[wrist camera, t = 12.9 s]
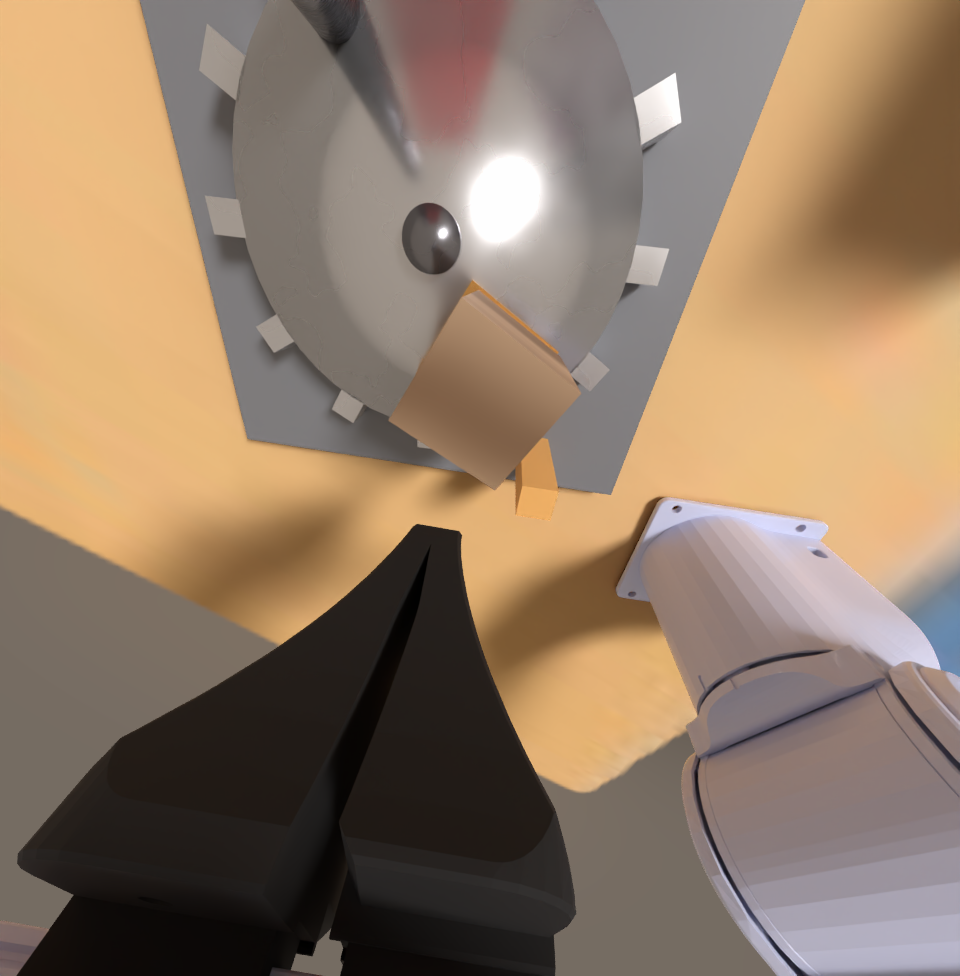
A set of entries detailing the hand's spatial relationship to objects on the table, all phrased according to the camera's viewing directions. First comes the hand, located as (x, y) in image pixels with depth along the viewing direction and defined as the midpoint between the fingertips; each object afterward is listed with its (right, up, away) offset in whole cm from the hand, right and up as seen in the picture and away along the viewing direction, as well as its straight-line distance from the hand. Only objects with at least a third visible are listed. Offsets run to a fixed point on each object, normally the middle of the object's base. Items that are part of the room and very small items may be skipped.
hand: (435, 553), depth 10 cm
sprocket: (0, +11, +3) cm, 12 cm away
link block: (+2, +7, +4) cm, 8 cm away
